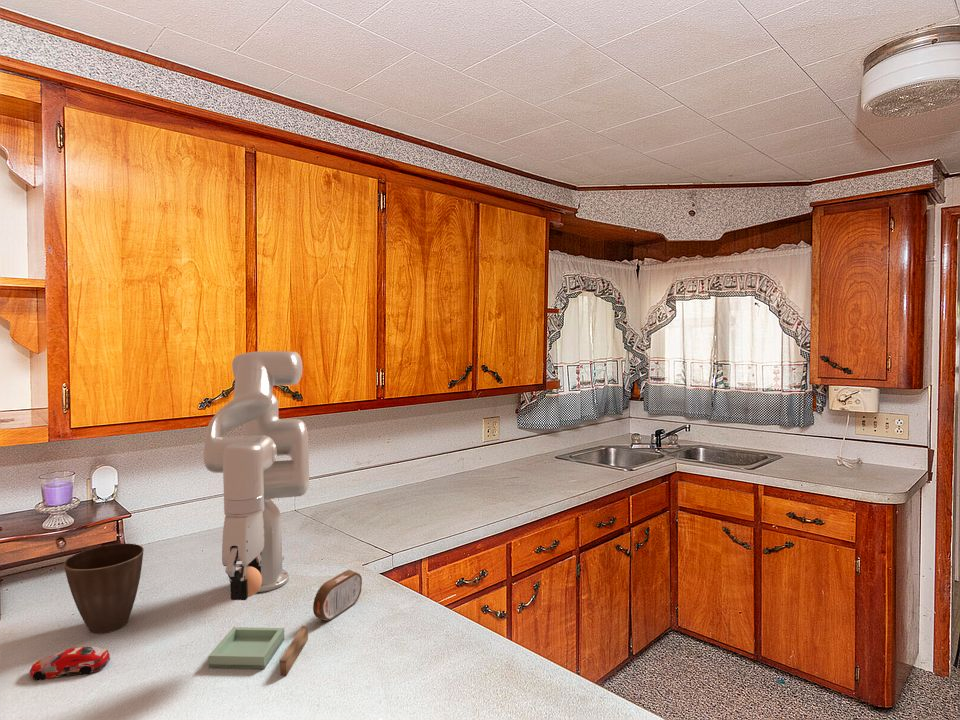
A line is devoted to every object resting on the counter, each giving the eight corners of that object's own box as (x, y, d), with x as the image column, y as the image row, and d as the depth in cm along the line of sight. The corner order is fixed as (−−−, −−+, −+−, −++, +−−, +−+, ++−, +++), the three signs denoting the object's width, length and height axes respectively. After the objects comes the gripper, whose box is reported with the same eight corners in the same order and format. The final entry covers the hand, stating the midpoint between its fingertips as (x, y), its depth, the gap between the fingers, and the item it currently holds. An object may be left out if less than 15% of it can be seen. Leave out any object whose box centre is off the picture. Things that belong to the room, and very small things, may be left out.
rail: (302, 639, 127) (302, 626, 127) (308, 639, 127) (307, 626, 127) (280, 675, 114) (279, 660, 114) (286, 675, 114) (286, 660, 114)
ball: (238, 589, 124) (237, 561, 124) (266, 590, 124) (266, 561, 124) (225, 602, 118) (224, 573, 118) (255, 603, 118) (254, 573, 118)
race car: (24, 684, 112) (23, 663, 112) (38, 668, 118) (37, 648, 117) (102, 675, 115) (101, 654, 115) (112, 659, 120) (112, 640, 120)
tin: (354, 597, 147) (353, 563, 147) (364, 599, 146) (364, 566, 145) (312, 625, 134) (311, 588, 133) (323, 628, 132) (322, 591, 132)
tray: (233, 638, 128) (233, 627, 128) (284, 639, 127) (284, 627, 127) (208, 668, 117) (208, 655, 117) (264, 669, 117) (263, 656, 116)
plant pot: (65, 651, 123) (61, 575, 122) (69, 620, 136) (65, 551, 135) (148, 631, 131) (145, 559, 130) (144, 603, 144) (141, 538, 143)
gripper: (244, 492, 129) (246, 574, 130) (204, 517, 112) (207, 612, 113) (278, 492, 129) (280, 574, 130) (244, 518, 111) (246, 612, 112)
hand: (246, 591), depth 121 cm, fingers closed on ball, 5 cm apart
